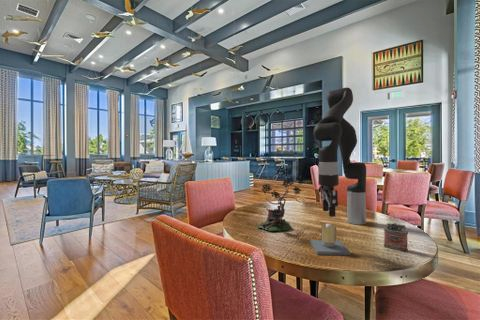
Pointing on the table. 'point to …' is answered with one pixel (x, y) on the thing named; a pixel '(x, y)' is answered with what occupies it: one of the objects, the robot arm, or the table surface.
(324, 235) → the bushing
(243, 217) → the table surface
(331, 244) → the grey peg stand
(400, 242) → the small tin
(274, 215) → the bonsai tree
